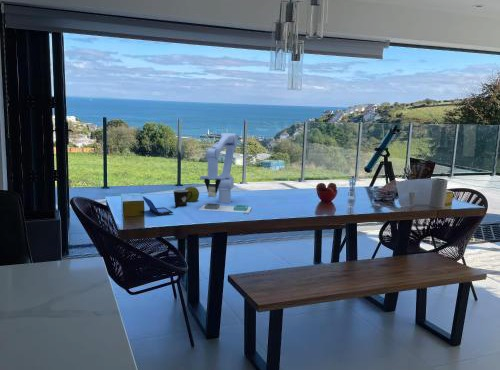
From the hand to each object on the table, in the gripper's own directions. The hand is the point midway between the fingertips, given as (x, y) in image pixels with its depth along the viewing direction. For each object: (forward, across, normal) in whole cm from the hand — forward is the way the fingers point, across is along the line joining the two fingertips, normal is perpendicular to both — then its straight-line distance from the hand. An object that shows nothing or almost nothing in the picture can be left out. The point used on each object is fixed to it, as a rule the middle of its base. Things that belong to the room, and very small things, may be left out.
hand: (212, 192), depth 271 cm
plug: (+2, 0, 0) cm, 2 cm away
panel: (+10, +8, 0) cm, 13 cm away
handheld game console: (+11, -28, -16) cm, 34 cm away
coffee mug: (+11, -18, +2) cm, 21 cm away
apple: (+11, -17, +16) cm, 26 cm away
